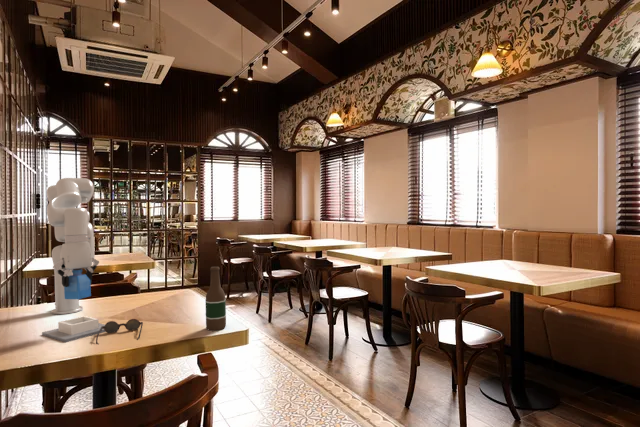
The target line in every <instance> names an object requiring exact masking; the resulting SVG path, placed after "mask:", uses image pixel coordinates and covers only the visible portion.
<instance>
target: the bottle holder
mask: <svg viewBox="0 0 640 427" xmlns="http://www.w3.org/2000/svg"><path fill="white" fill-rule="evenodd" d="M57 323H58V324H57V325H58V328H55V329H50V330H47V331H42V332H41V334H42V336H45V337H46V338H51V339H54V340H57V341H60V342H63V343H68V342H71V341H75V340H80V339H83V338H86V337H90V336H95V335H97V334H98V332H99V330H100V329H101V327H102V326H105V324H106V323H105V324H104V323H100V322H99V319H98V318H95V317H90V316H86V315H84V316H80V317H74V318H71V319H64V320H61V321H58V322H57ZM102 333H107V332H106V331H105V330H104V329H102V330H101V332H100V334H102Z"/></svg>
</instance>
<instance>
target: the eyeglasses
mask: <svg viewBox="0 0 640 427" xmlns="http://www.w3.org/2000/svg"><path fill="white" fill-rule="evenodd" d="M143 324H144V321H140V320H138V319H137V318H130V319H129V320H128V321H126V323H118V322H117V321H113V320H110V321H107V322H106V323H105V326H102V327H101V329H100V330H99V332H98V334H96V339H95V344H96V345H100V343H98V339H99V336H100V334H101V333H100V332H101V330H102V329H104V330H105V331H106V332H105V333H106V334H111V333H112V334H113V333H117V332H118V331H119V330H120V327H121V326H124V328H125V329H126V331H137V330H139V329H140V330H139V334H138V338H137V339H136V340H137V341H138V340H140V338H141V337H140V336H141V333H142V329H143Z"/></svg>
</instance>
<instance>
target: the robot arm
mask: <svg viewBox="0 0 640 427" xmlns="http://www.w3.org/2000/svg"><path fill="white" fill-rule="evenodd" d="M55 183H56V184H53V185H50V186H49V187H48V188H47V189H46V197H47V200H48V205H47V209H46V214H47V222H48V224H49V225H50V226H52V227H53V228H54V237H55V240H56V241H57V242H61V243H62V245H61V244H60V245H57V246H55V247H53V249H51V259H52V263H53V265H52V268H53V272H54V295H55V296H54V301H55V302H54V305H55V308H54V309H51V314H52V315H67V314H73V313H77V312H81V311H83V309H84V307H83V306H82V305H80V299H65V294H64V287H68V286H69V277H68V276H71V275H73V273H72V270H73V269H80V268H81V269H84V270H85V271H86V272H85V274H86V275H87V277H88V278H89V279H90V282H91V284H92V283H93V282H92V281H93V273H94V272H95V270H97V267H98V266H99V264H100V261H99V260H98V259H96V258H95V253H96V252H95V234H94V227H93V224H92V223H91V222H90V219H91V218H90V217H91V216H90V212H89V211H88V209H87V208H85V207H79V205H80V204H83V203H84V204H86V203H90V201H91V199H92V197H93V195H94V192H95V187H94V183H93V181H91V179H88V178H82V177H64V178H60V179H58V180H57V182H55Z"/></svg>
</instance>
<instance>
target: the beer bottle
mask: <svg viewBox="0 0 640 427" xmlns="http://www.w3.org/2000/svg"><path fill="white" fill-rule="evenodd" d="M209 270H210V283H209V284H210V285H209V289H208V290H207V292H206V294H205V326H206V330H208V331H211V332H215V331H221V330H224V329H225V328H226V327H227V310H226V309H227V307H226V303H227V302H226V293H225V291H224V289H223V288H222V287H221V286H222V285H221V278H220V267H219V266H211V267H210V268H209Z"/></svg>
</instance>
